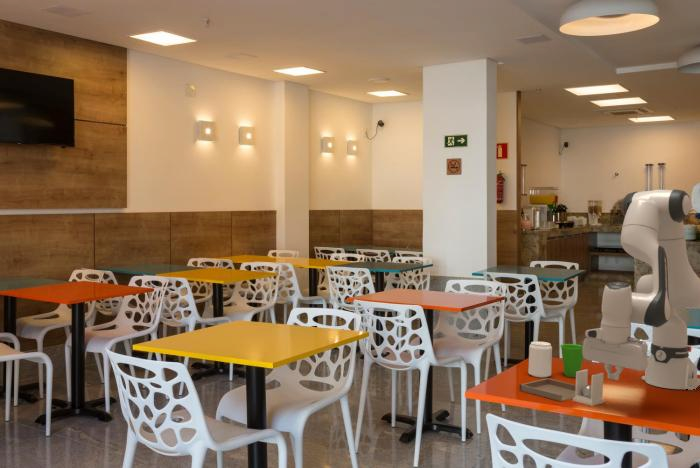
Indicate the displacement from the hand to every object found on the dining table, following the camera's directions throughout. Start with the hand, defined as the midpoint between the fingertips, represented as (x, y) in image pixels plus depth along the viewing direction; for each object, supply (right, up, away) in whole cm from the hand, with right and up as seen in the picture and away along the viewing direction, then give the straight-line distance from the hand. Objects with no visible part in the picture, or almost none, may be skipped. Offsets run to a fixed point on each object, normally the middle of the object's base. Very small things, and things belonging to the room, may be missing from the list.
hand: (613, 379), depth 211 cm
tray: (-13, -8, +17) cm, 23 cm away
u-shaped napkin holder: (-5, -9, +7) cm, 12 cm away
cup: (+1, -8, +41) cm, 42 cm away
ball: (-5, -6, +7) cm, 10 cm away
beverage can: (-11, -8, +40) cm, 43 cm away
